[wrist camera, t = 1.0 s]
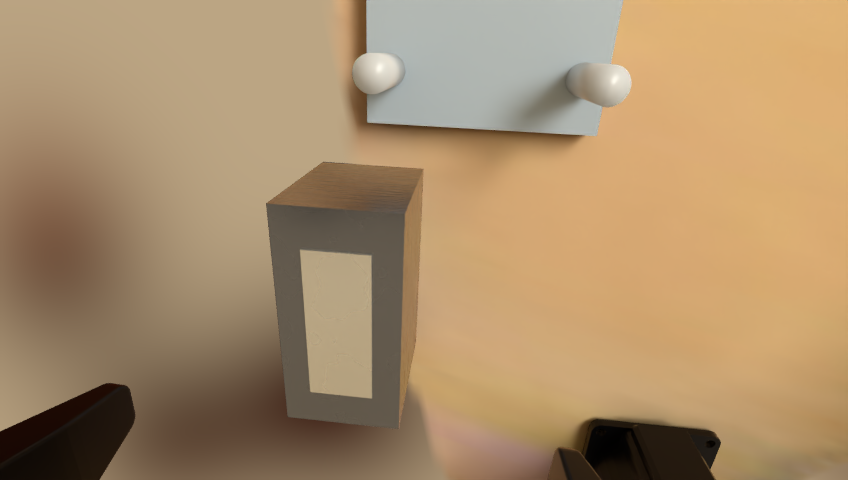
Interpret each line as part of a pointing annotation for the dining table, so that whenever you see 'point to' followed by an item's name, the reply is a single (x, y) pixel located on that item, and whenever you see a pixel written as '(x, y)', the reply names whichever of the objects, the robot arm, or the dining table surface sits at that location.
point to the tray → (492, 64)
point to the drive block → (347, 290)
